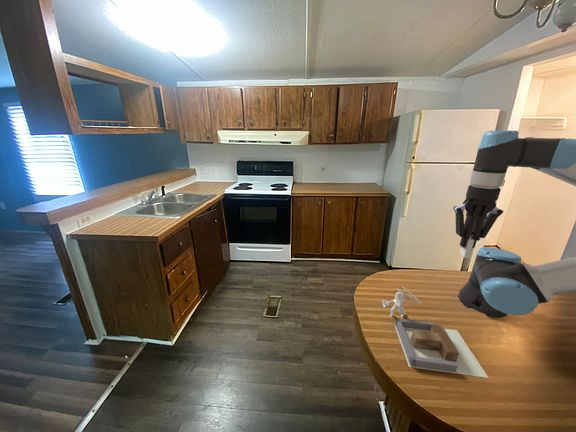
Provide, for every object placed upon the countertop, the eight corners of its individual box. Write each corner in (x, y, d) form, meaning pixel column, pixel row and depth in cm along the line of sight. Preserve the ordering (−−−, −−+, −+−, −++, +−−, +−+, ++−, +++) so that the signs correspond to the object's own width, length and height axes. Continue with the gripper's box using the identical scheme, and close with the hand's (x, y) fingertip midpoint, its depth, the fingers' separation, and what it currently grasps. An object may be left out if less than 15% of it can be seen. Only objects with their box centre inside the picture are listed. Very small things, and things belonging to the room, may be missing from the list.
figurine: (408, 320, 82) (414, 292, 78) (387, 326, 79) (393, 298, 75) (398, 310, 86) (404, 284, 82) (378, 316, 83) (383, 289, 79)
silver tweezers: (393, 290, 98) (394, 287, 97) (400, 288, 100) (402, 284, 99) (432, 321, 83) (434, 317, 83) (440, 317, 85) (442, 313, 85)
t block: (439, 334, 74) (442, 325, 73) (455, 363, 65) (459, 353, 64) (406, 331, 76) (408, 321, 74) (418, 358, 67) (420, 348, 65)
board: (456, 332, 76) (458, 324, 75) (487, 380, 62) (491, 371, 60) (393, 325, 79) (394, 317, 78) (408, 369, 65) (410, 360, 63)
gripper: (500, 183, 70) (478, 251, 78) (454, 182, 72) (437, 249, 80) (519, 189, 64) (493, 263, 71) (467, 187, 65) (448, 260, 73)
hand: (464, 255), depth 76 cm, fingers closed
